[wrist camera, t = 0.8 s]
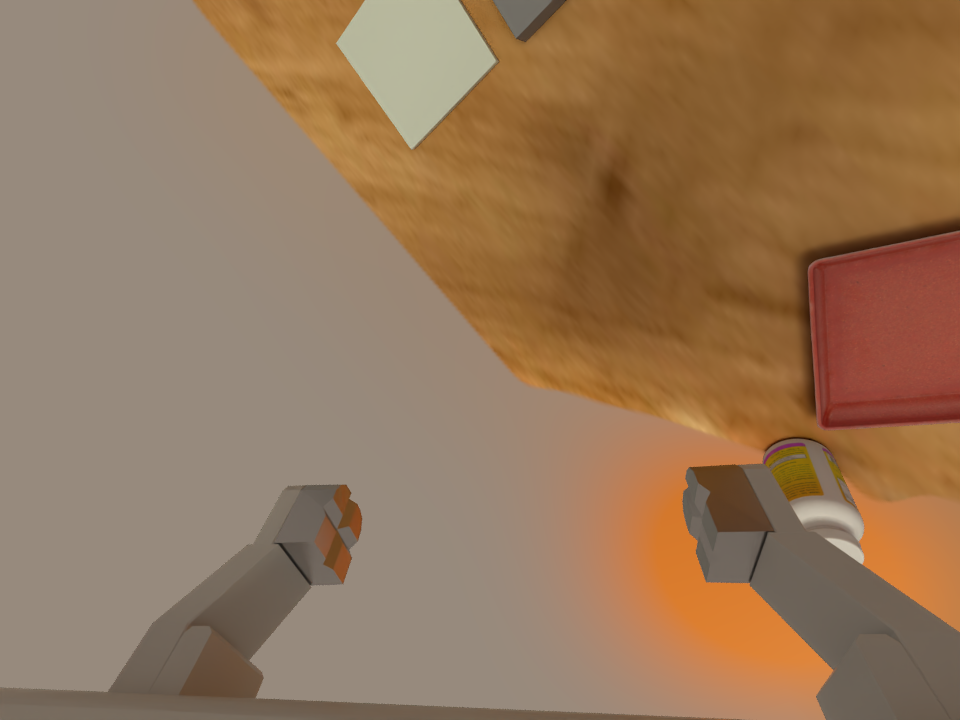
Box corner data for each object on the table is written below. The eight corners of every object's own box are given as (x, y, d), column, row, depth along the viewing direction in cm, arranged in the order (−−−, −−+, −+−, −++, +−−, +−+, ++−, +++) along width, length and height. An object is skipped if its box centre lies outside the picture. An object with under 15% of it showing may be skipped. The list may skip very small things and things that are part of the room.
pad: (341, 44, 44) (336, 43, 43) (417, -69, 37) (413, -72, 36) (414, 148, 46) (411, 149, 46) (499, 61, 40) (496, 61, 39)
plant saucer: (1105, 184, 31) (1146, 193, 28) (1063, 394, 38) (1093, 417, 35) (797, 250, 39) (806, 261, 37) (808, 412, 46) (817, 431, 44)
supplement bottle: (750, 468, 51) (771, 562, 41) (779, 427, 48) (810, 519, 37) (812, 489, 50) (849, 591, 40) (847, 448, 46) (898, 550, 36)
